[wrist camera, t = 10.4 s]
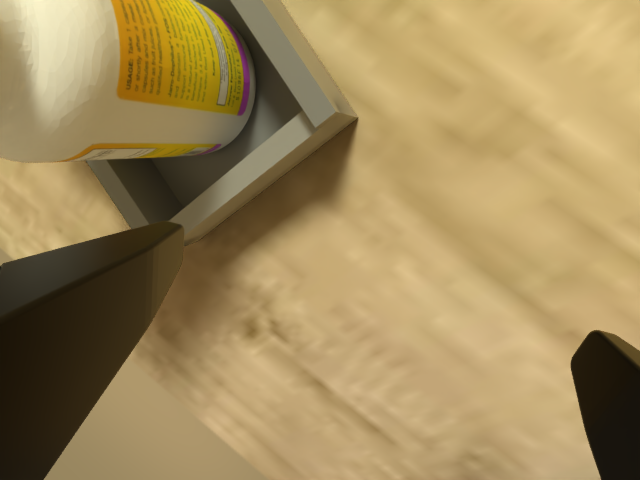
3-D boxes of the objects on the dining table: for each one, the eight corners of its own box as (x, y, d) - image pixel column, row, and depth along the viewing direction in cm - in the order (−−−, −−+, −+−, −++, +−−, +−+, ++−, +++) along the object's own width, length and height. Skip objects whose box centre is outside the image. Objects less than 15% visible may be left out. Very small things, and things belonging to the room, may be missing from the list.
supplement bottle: (194, -22, 20) (-221, -286, 8) (289, 83, 19) (12, -20, 7) (119, 88, 22) (-284, 21, 10) (202, 183, 22) (-112, 230, 10)
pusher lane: (358, 117, 19) (309, 104, 13) (197, 241, 23) (101, 276, 17) (139, -213, 19) (-17, -386, 13) (15, -31, 23) (-149, -97, 17)
